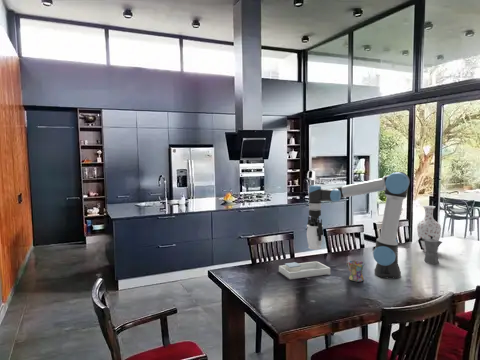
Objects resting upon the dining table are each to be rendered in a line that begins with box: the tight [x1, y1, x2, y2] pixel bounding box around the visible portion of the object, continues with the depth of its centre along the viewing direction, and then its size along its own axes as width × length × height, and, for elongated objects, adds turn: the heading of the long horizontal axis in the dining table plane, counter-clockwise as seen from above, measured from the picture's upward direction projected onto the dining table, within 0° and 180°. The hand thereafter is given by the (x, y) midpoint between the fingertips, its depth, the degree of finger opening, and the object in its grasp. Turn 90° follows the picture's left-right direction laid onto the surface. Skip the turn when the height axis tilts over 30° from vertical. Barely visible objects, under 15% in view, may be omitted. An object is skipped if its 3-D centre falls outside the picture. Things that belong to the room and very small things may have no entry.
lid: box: [284, 261, 301, 268], centre depth 217 cm, size 8×8×1 cm
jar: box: [306, 223, 324, 251], centre depth 222 cm, size 11×10×15 cm
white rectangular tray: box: [278, 261, 331, 280], centre depth 220 cm, size 16×28×4 cm, turn 108°
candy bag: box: [346, 259, 365, 282], centre depth 207 cm, size 12×9×11 cm
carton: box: [284, 264, 300, 272], centre depth 217 cm, size 7×7×6 cm
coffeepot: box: [417, 236, 443, 264], centre depth 241 cm, size 15×9×18 cm, turn 44°
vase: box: [416, 205, 442, 253], centre depth 267 cm, size 16×16×35 cm
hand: (314, 243), depth 223 cm, fingers closed on jar, 10 cm apart
